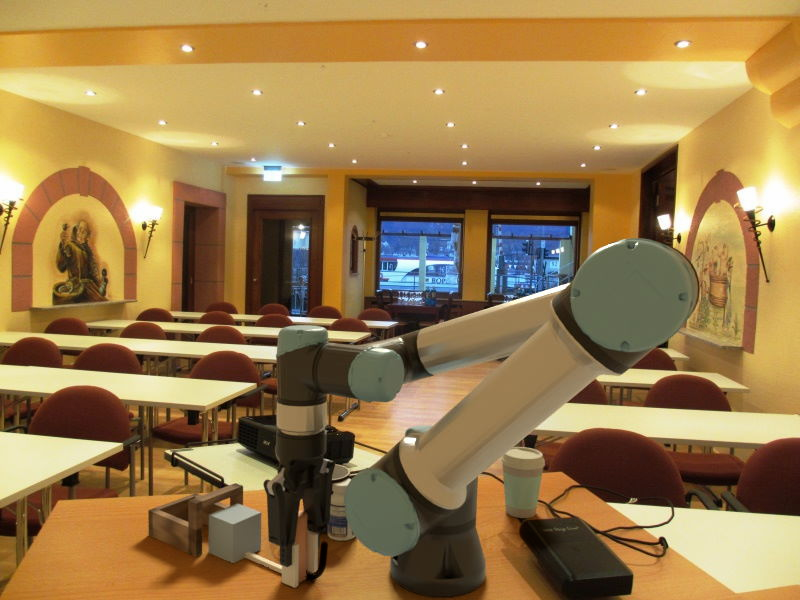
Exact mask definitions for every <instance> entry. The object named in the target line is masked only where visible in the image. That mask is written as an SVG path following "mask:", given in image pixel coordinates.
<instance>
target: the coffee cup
mask: <svg viewBox="0 0 800 600" xmlns="http://www.w3.org/2000/svg"><path fill="white" fill-rule="evenodd" d="M545 461H546V460H545V459H544V455H543V453H542V451H540V450H537V449H535V448H531V447H525V446H514V447H513V448H511V449H510V450H509V451H508V452H507V453H505V454H504V455H503V456H502V457H501V458H500V462H501V464H502V476H503V479H502V480H503V488H504V489H503V490H504V503H505V512H506V514H508V515H509V516H511V517H514V518H519V519H529V518H533V517H535V516H536V514H537V509H538V502H539V495H540V490H541V483H542V478H543V471H544V468H545V466H546V463H545Z"/></svg>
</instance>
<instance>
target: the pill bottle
mask: <svg viewBox="0 0 800 600" xmlns="http://www.w3.org/2000/svg"><path fill="white" fill-rule="evenodd" d="M351 479H352V478H350V477H349V478H348V479H346V480H344V481H342V482H339V483H333V487H332V491H333V494H332V495H331V508H330V521H329V523H328V524H327V533H326V534H327V537H329V538H330V539H331V540H334V541H340V542H344V541H345V542H346V541H350V540H352V539H354V538H356V536H355V535H354V533H353V532H352V530H351V528H350V526H349V524H348V521H347V519H346V515H345V503H344V495H345V491H346V488H347V485H348V484H349V482H350V481H351Z"/></svg>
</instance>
